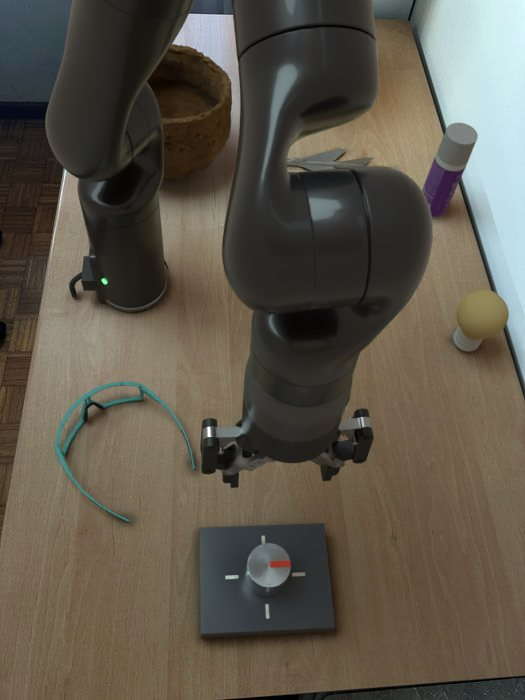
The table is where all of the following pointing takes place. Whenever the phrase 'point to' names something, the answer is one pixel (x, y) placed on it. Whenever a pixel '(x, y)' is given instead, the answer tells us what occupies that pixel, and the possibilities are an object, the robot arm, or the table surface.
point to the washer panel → (250, 609)
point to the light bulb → (479, 319)
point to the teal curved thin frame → (90, 402)
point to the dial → (267, 569)
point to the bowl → (191, 110)
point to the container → (448, 167)
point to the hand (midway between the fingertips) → (279, 474)
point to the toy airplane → (328, 161)
